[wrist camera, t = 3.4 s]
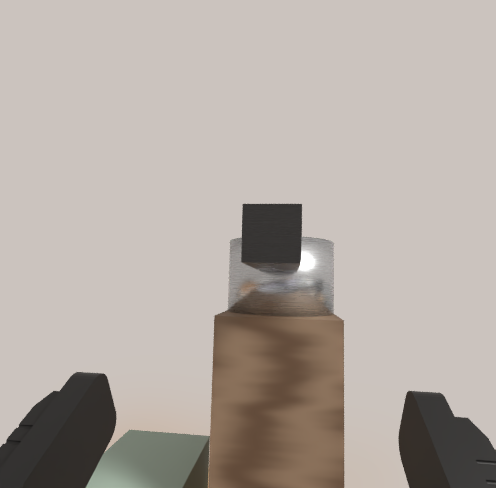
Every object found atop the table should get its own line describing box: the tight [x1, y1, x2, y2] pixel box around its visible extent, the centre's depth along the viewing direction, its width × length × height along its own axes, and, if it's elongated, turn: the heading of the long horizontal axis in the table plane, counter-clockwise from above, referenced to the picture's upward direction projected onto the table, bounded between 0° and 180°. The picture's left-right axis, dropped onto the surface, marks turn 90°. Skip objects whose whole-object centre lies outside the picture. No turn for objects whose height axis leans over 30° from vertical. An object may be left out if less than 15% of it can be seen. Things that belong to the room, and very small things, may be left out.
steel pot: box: [228, 204, 334, 317], centre depth 25 cm, size 9×21×6 cm, turn 173°
